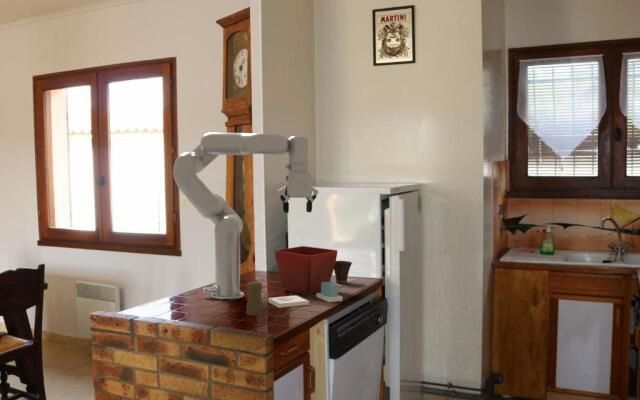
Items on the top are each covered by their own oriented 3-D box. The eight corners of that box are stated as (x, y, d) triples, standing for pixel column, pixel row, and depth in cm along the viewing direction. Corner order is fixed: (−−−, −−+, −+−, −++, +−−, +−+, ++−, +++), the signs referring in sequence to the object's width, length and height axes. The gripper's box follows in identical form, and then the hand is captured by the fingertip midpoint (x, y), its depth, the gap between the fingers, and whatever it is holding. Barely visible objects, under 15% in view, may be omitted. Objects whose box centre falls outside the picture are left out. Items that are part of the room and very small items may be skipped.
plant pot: (309, 298, 229) (310, 255, 228) (273, 291, 240) (273, 250, 239) (338, 290, 244) (338, 250, 243) (302, 284, 255) (302, 245, 254)
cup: (324, 281, 260) (327, 258, 260) (338, 281, 266) (342, 259, 266) (338, 285, 253) (341, 262, 253) (352, 285, 259) (356, 263, 259)
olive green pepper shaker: (254, 310, 207) (255, 279, 207) (266, 313, 203) (267, 281, 203) (242, 313, 202) (242, 281, 202) (254, 316, 199) (254, 284, 198)
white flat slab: (279, 307, 211) (279, 303, 211) (268, 302, 220) (268, 297, 220) (308, 304, 217) (308, 300, 217) (297, 299, 226) (297, 295, 226)
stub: (328, 302, 221) (328, 286, 221) (316, 296, 230) (316, 281, 229) (342, 300, 224) (342, 285, 223) (329, 295, 232) (330, 280, 232)
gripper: (281, 167, 219) (281, 213, 220) (322, 168, 227) (321, 212, 228) (273, 167, 226) (273, 212, 227) (313, 168, 234) (313, 211, 235)
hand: (297, 212), depth 227 cm, fingers open, 9 cm apart
